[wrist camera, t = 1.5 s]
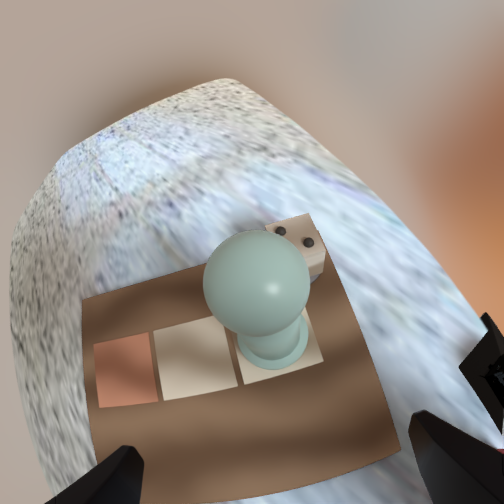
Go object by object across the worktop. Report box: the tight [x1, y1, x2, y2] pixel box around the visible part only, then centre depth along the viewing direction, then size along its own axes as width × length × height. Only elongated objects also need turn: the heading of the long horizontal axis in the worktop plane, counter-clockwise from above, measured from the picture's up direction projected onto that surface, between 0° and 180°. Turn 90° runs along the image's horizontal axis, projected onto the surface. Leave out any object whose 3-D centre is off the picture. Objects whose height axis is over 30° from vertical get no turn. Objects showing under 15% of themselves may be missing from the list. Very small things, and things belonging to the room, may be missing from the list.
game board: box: [82, 213, 401, 504], centre depth 19 cm, size 20×24×5 cm
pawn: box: [203, 230, 310, 370], centre depth 16 cm, size 5×5×12 cm
